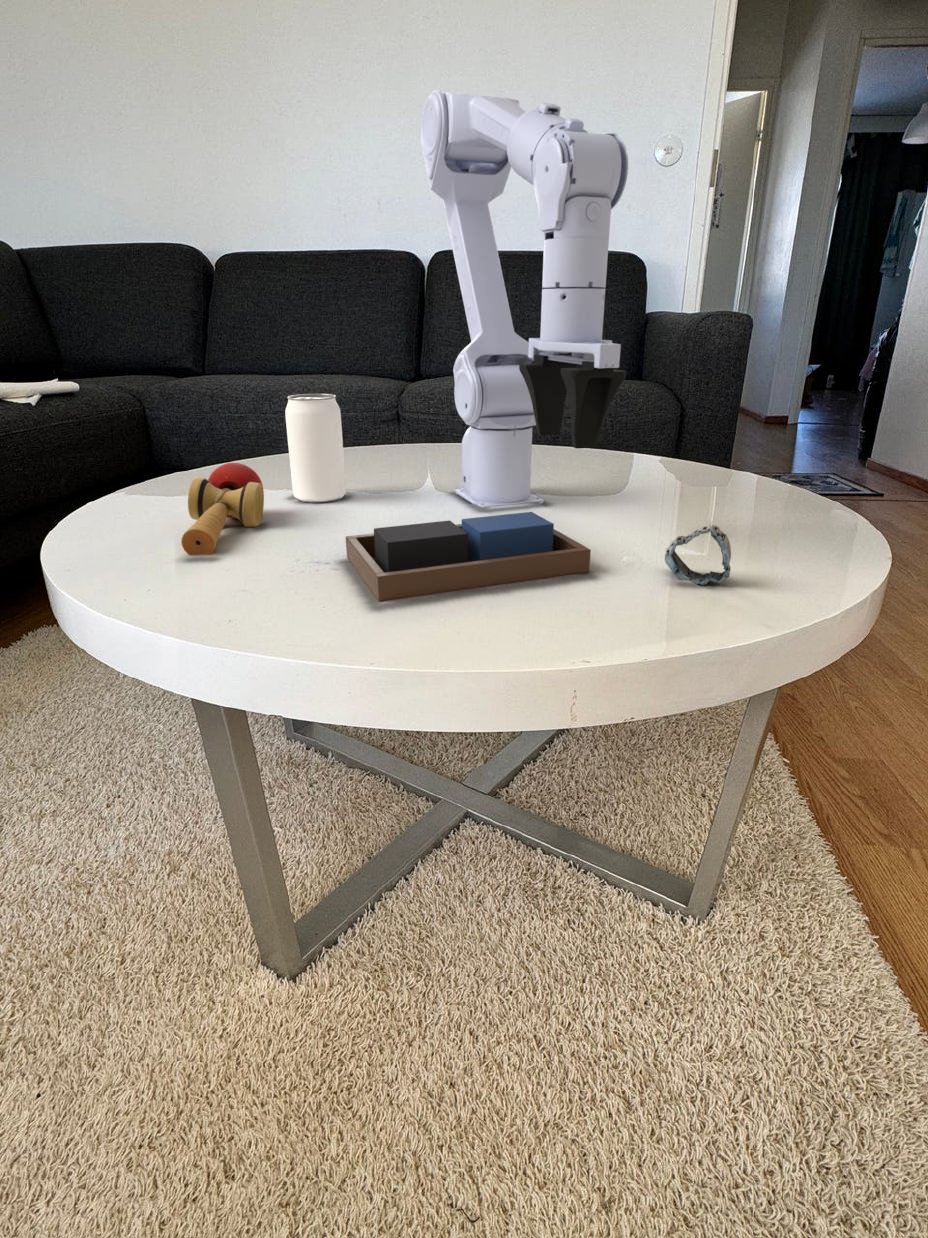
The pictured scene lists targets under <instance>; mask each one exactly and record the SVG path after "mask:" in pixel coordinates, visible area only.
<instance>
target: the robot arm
mask: <svg viewBox="0 0 928 1238" xmlns="http://www.w3.org/2000/svg"><path fill="white" fill-rule="evenodd" d="M561 110H562V109H561V106H559V105H557V104H555V103H549V102H541V103H540V104H539V107H535V108H531V109H528V110H527V111H525V110H524V109H523V108H521V105H520V101H519V100H518V99H515V98H511V97H498V96H488V95H481V94H469V93H468V94H467V93H459V92H443V91H442V90H438V89H435V90H433V91H431V93H430V94H429V96H428V97H427V99H426V100H425V102H424V105H423V109H422V116H421V133H420V147H421V153H422V157H423V161H424V162H423V163H424V166H425V171H426V176H427V179H428V183H429V187H430V190H431V191H432V192H433V193H434V194H436V195H437V196H438V197H439V198H440V199H441V200H442V203H443V209H444V214H445V218H446V219H445V220H446V224H447V229H448V233H449V234H448V235H449V239H450V243H451V249H452V254H453V259H454V263H455V268H456V273H457V279H458V283H459V288H460V293H461V297H462V303H463V307H464V312H465V317H466V318H465V319H466V323H467V327H468V333H469V337H470V343H469V344H467V345H466V346H465V347H464V348H463V349H462V350H461V351H460V352H459V354H458V355H457V357H456V359H455V361H454V365H453V369H452V372H453V380H454V388H453V389H454V390H453V392H454V394H453V395H454V404H455V408H456V411H457V414H458V415H459V417H460V418H461V419H462V421H463V422H464V423H465V425H467V426H469V427H468V428H467V430H466V431H465V433H464V435H463V436H462V439H461V488H455V489H454V493H455V494H456V495H457V496H460V497H461V498H463V499H464V500H465V501H467V502H469V503H471V504H472V505H477V506H478V507H479V508H495V507H504V506H515V505H522V504H523V505H525V504H534V503H537V504H540V505H542V504H544V499H543V498H541V497H539V496H538V495H536V494H533V493H531V489H532V488H531V482H532V455H533V454H532V453H533V452H532V451H533V426H536V431H537V435H538V436H540V437H544V436H558V435H560V432H561V427H562V424H563V417H564V409H565V403H566V402H565V401H566V397H567V399H568V404H569V413H570V414H569V415H570V435H571V436H570V437H571V443H572V448H573V449H593V448H596V447H597V443H598V441H599V438H600V435H601V431H602V429H603V425H604V422H605V418H606V415H607V413H608V410H609V408H610V405H611V403H612V401H613V399H614V397H615V396H616V394H617V392H618V391H619V389H620V387H621V385H622V384H623V382H624V381H625V380H626V373H627V372H626V370H623V369H619V368H620V361H621V349H622V348H621V347H622V344H621V343H614V342H613V340H612V339H611V340H610V339H603V331H604V329H603V328H604V316H605V299H606V287H607V273H608V257H609V246H610V245H609V244H610V231H611V230H610V228H611V214H612V209H614V208H615V207H616V206H617V204H618V203H619V201H620V200H621V198H622V196H623V193H624V191H625V189H626V185H627V180H628V173H629V156H628V155H629V154H628V150H627V147H626V146H627V145H626V144H625V142H624V141H623V139H622V138H620V137H619V135H618V134H617V132H612V131H611V132H605V133H603V134H602V133H593V132H589V131H587V130H586V129H584V127H585V123H584V121H582V120H581V119H579V118H570V117H568V118H567V119H566V118H564V117H562V116H561V115H560V114H561ZM511 169H512V170H513V172H515V174H516V175H518V176H519V177H521V178H522V179H523V180H524V181H526V182H527V183H529V184H530V185H531V186H533V193H534V198H535V201H536V203H537V207H538V209H537V210H538V221H537V222H538V223H537V225H538V226H539V231H541V232H542V233H543V253H542V254H543V256H542V281H541V282H542V284H541V285H542V286H541V306H540V307H541V309H540V335H539V337H529V338H528V340H526V339H524V338H523V337H522V336H520V335H519V334H517V332H515V327H514V324H513V318H512V313H511V309H510V305H509V299H508V295H507V288H506V285H505V280H504V275H503V270H502V265H501V260H500V256H499V249H498V246H497V241H496V236H495V231H494V227H493V221H492V217H491V213H490V207H489V203H490V202H492V201H493V200H495V199H496V198H498V197H499V196H501V195H502V194H503V193H504V191H505V187H506V185H507V181H508V179H509V176H510V172H511ZM569 353H570V354H571V356H570V355H562V354H569ZM578 365H581V367H577V366H578Z"/></svg>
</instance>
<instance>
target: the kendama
mask: <svg viewBox="0 0 928 1238" xmlns="http://www.w3.org/2000/svg"><path fill="white" fill-rule="evenodd" d="M264 491H265V490H264V485H263V481H262V480H261V477H260V476H259V474H258V473H257V472H256V471H255V470H254V469H253V468H251V467H249V466H248V465H247V464H244V463H240V462H229V463H224V464H221V465H220V466H217V467H216V468H215V469H214V470H213V471H212V472H211V473H210V475H209V477H208V479H207V478H205V477H195V478H194V479H192V481H191V483H190V485H189V489H188V495H187V510H188V514H189V516H190V518H191V519H192V520H196V521H195V522H194V523H193V524H192V525H191V526H190V527H188V529H187V530H186V531H185V532H184V533H183V535H182V537H181V540H180V541H181V546H182V548H183V550H184V552H185V553H186V554H187V555H189V556H194V555H196V556H197V555H213V553H214V551H215V548H216V546H217V544H218V540H219V538H220V535H221V534H222V531H223V530H224V526H225V525H226V522H227V518H229V519H237V520H238V521H239V522H241V524H242V525H243V526H244V527H245V528H246V527H249V528H255V527H257V526H260V524H261V521H262V518H263V513H264V506H265V505H264V504H265V492H264Z"/></svg>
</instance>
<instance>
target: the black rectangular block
mask: <svg viewBox="0 0 928 1238" xmlns="http://www.w3.org/2000/svg"><path fill="white" fill-rule="evenodd" d="M373 533H374V543H375V561H376V563H377V564H378V565H379V567H380V568H381V569H382V570H383V571H384V573H386V572H394V571H402V570H410V569H418V568H426V567H434V566H442V565H449V564H457V563H465V562H468V534H467V533H466V532H465V531H463V530H462V529H461V528H459V527H458V526H457V524H456V523H454V522H453V521H451V520H441V521H431V522H421V523H412V524H402V525H394V526H383V527H374V528H373Z"/></svg>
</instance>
